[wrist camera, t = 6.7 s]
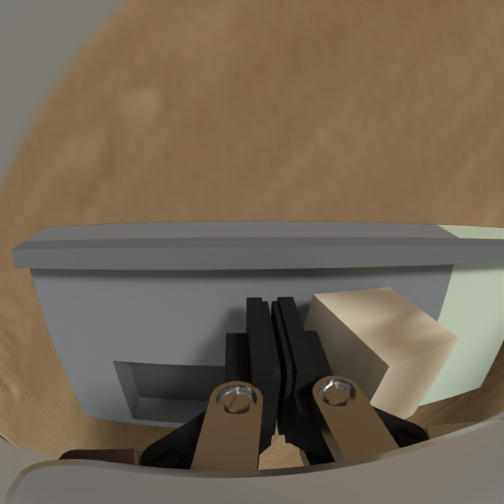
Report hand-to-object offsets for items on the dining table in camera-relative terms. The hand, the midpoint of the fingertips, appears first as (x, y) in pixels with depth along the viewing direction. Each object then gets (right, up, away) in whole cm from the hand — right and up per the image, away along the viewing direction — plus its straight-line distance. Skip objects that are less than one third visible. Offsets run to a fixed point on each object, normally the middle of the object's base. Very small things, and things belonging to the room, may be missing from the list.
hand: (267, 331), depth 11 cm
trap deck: (+3, -1, +4) cm, 5 cm away
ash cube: (+3, 0, +1) cm, 3 cm away
